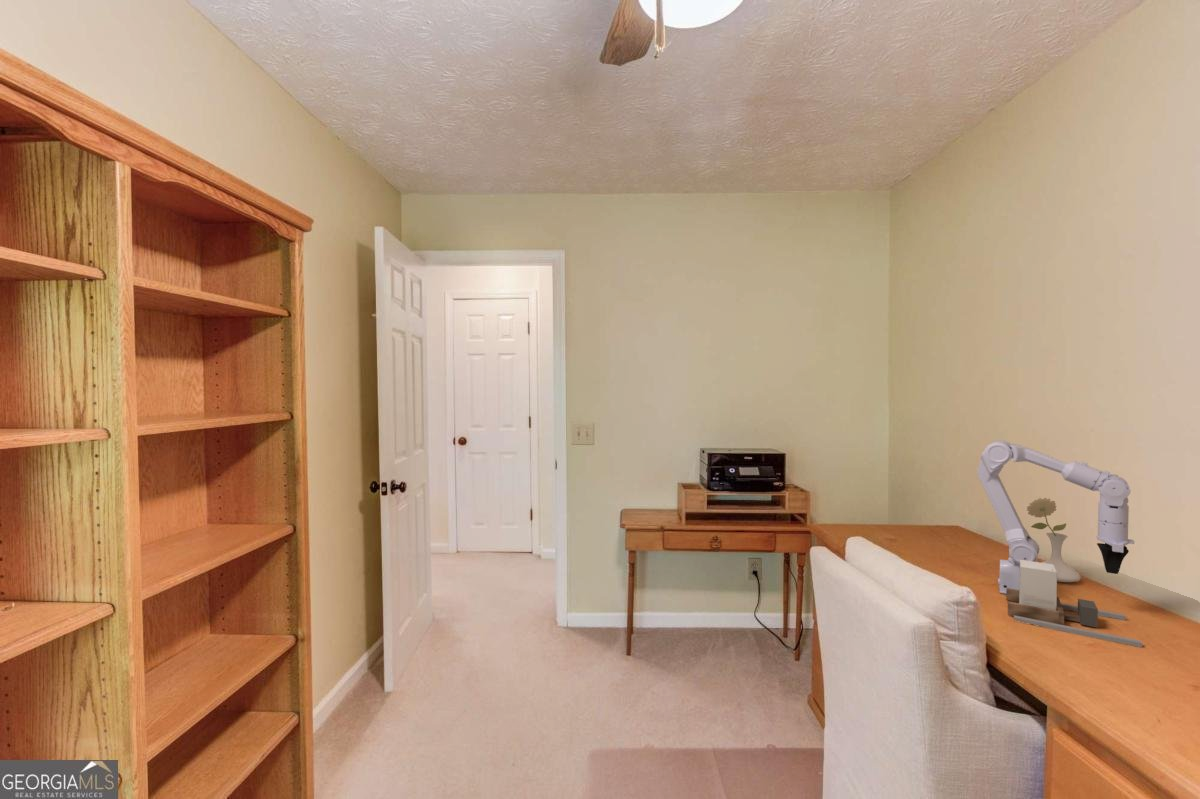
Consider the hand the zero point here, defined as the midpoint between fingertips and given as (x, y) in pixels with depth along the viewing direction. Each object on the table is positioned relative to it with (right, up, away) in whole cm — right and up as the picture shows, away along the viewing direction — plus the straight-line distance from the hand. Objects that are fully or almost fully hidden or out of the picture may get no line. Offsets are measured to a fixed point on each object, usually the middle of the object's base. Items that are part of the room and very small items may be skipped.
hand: (1111, 572), depth 139 cm
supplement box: (-20, -11, 0) cm, 23 cm away
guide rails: (-15, -10, -5) cm, 19 cm away
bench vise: (-18, -10, -2) cm, 21 cm away
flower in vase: (+6, -10, +25) cm, 27 cm away
